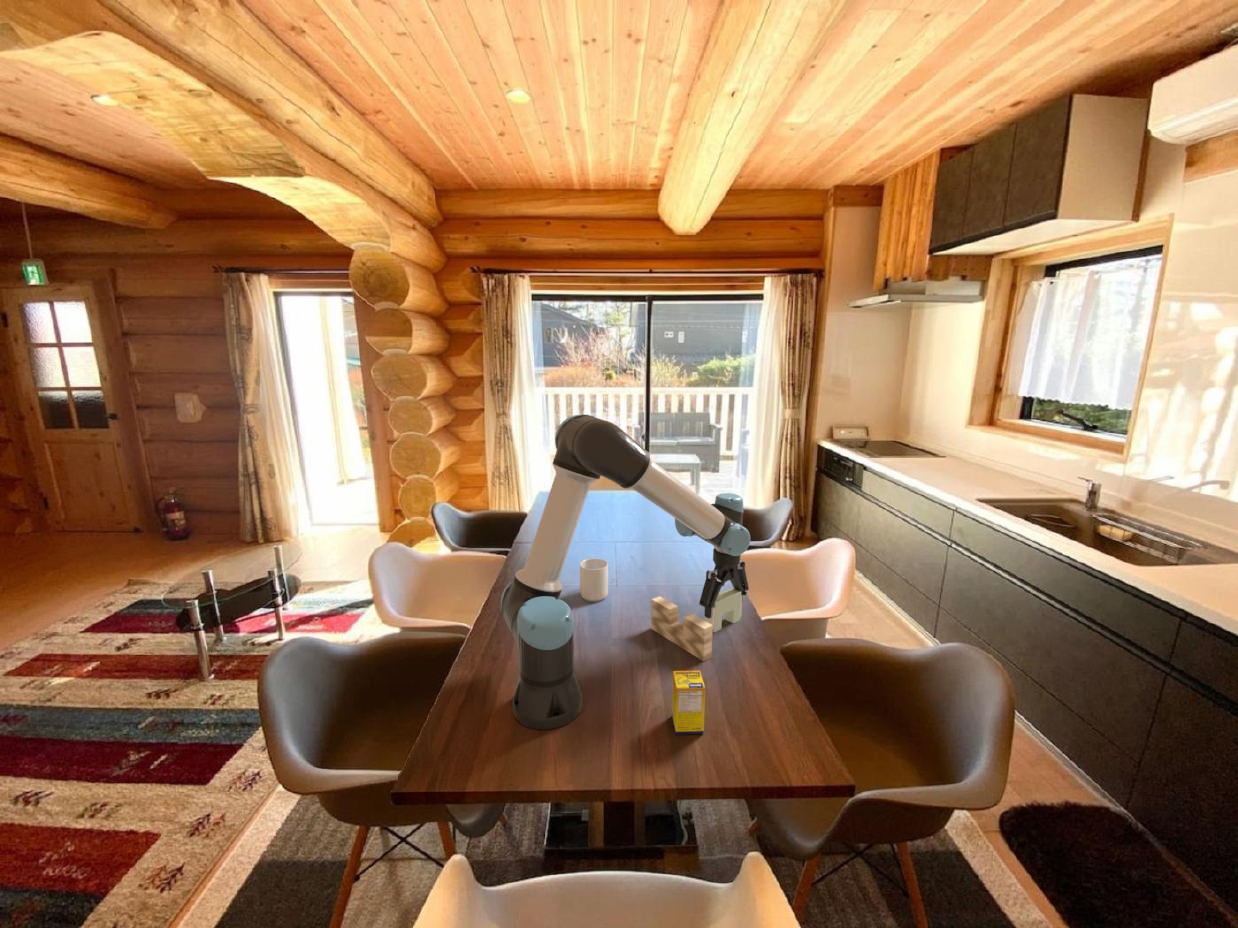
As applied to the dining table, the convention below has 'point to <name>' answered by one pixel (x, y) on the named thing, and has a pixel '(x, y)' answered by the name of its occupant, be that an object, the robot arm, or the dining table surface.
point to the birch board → (682, 628)
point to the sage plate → (727, 607)
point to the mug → (594, 579)
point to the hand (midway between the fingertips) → (723, 620)
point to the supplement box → (688, 702)
